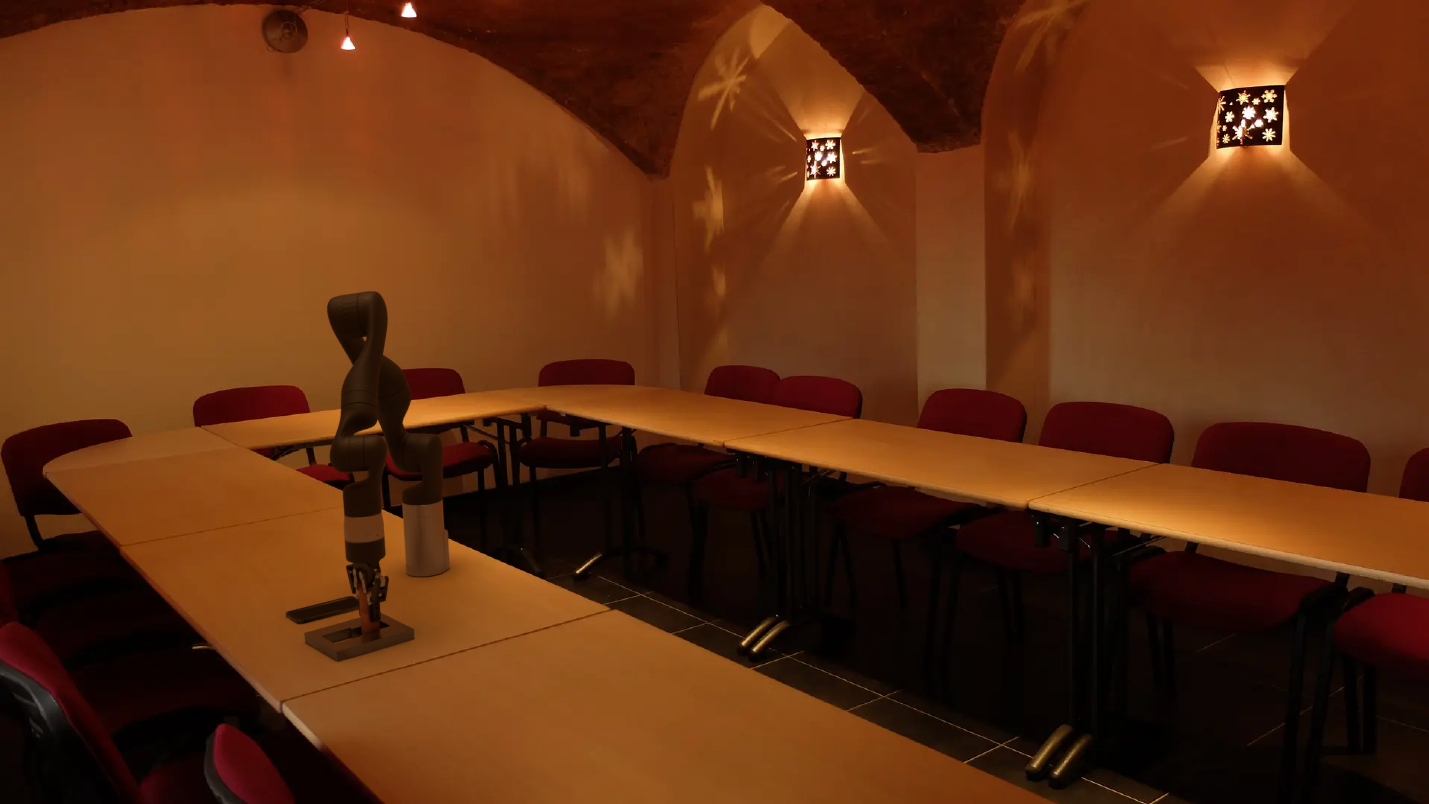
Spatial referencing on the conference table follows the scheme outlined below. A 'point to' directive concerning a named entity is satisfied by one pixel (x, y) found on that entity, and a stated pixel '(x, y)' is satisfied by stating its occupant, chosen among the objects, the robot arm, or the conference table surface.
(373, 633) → the keyhole plate
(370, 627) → the peg
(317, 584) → the conference table surface
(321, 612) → the phone
